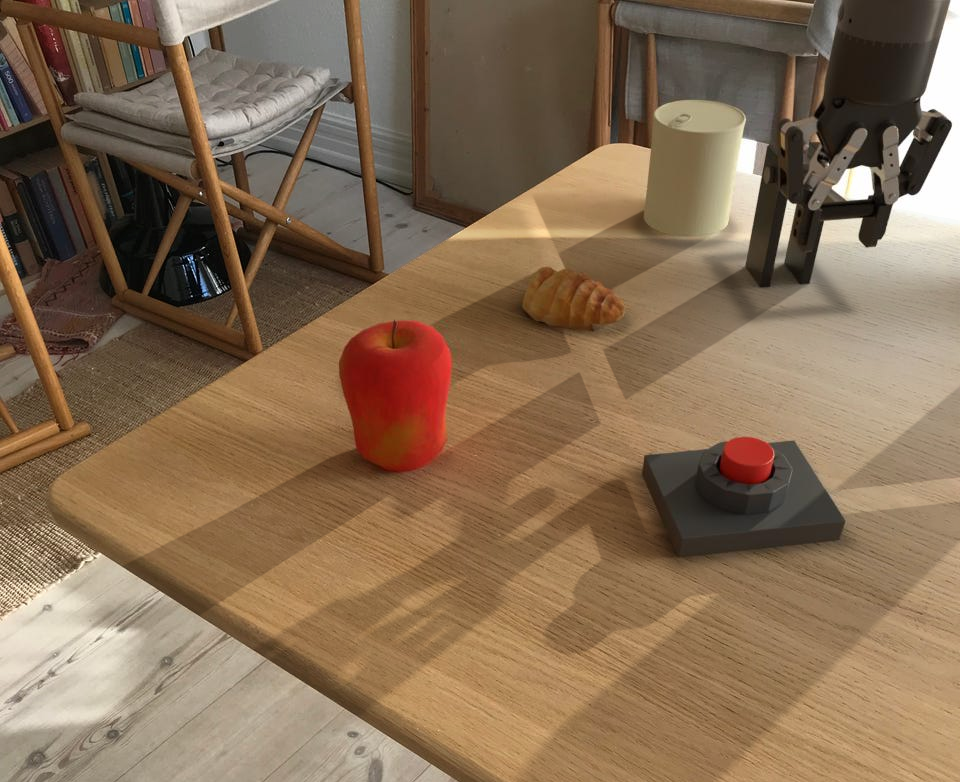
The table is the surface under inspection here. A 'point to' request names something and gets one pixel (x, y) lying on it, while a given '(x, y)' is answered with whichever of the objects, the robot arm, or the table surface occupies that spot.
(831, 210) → the lever
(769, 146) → the bracket
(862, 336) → the table surface
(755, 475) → the button
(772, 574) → the table surface
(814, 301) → the table surface
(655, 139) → the can
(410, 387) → the apple
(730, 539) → the button box
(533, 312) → the pastry
